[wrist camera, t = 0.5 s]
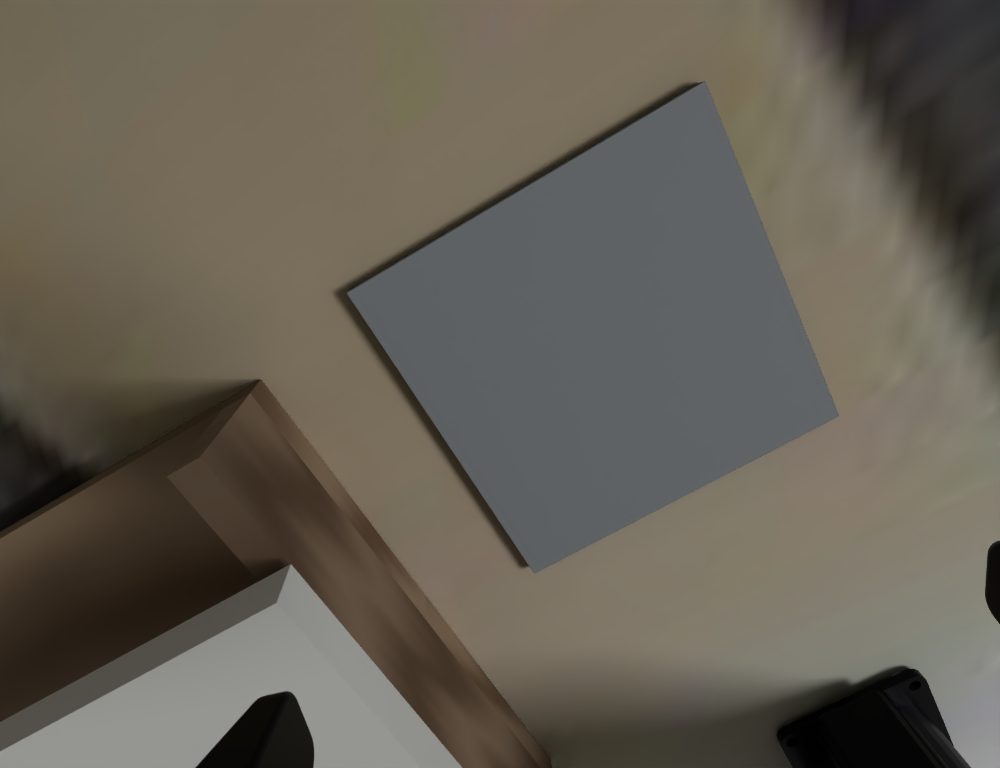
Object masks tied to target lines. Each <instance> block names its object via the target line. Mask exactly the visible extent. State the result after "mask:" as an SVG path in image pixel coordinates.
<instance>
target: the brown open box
mask: <svg viewBox="0 0 1000 768" xmlns="http://www.w3.org/2000/svg"><path fill="white" fill-rule="evenodd" d="M290 564H291V565H292V566H293V567H294V568H295V569H296V571H297V572H298V573H299V574H300V575H301V576H302V578H303V579H304V580H305V581H306V582H307V584H308V585H309V586H310V587H311V588H312V590H313V591H314V592H315V593H316V594H317V596H318V597H319V598H320V599H321V600H322V601H323V603H324V604H325V605H326V606H327V607H328V609H329V610H330V611H331V612H332V613H333V615H334V616H335V617H336V618H337V619H338V620H339V622H340V623H341V624H342V625H343V626H344V628H345V629H346V630H347V631H348V632H349V634H350V635H351V636H352V637H353V638H354V640H355V641H356V642H357V643H358V644H359V645H360V647H361V648H362V649H363V650H364V651H365V653H366V654H367V655H368V656H369V657H370V659H371V660H372V661H373V662H374V663H375V664H376V666H377V667H378V668H379V669H380V670H381V672H382V673H383V674H384V675H385V676H386V678H387V679H388V680H389V681H390V682H391V684H392V685H393V686H394V687H395V688H396V689H397V691H398V692H399V693H400V694H401V695H402V697H403V698H404V699H405V700H406V701H407V703H408V704H409V705H410V706H411V707H412V708H413V710H414V711H415V712H416V713H417V714H418V716H419V717H420V718H421V719H422V720H423V722H424V723H425V724H426V725H427V726H428V728H429V729H430V730H431V731H432V732H433V733H434V735H435V736H436V737H437V738H438V739H439V741H440V742H441V743H442V744H443V745H444V747H445V748H446V749H447V750H448V751H449V752H450V754H451V755H452V756H453V757H454V758H455V760H456V761H457V762H458V763H459V764H460V766H461V767H462V768H552V765H551V760H550V759H549V757H548V756H547V755H546V754H545V752H544V751H543V750H542V748H541V747H540V746H539V744H538V743H537V742H536V740H535V739H534V738H533V736H532V735H531V734H530V733H529V731H528V730H527V729H526V727H525V726H524V725H523V723H522V722H521V721H520V719H519V718H518V717H517V715H516V714H515V713H514V711H513V710H512V709H511V708H510V706H509V705H508V704H507V702H506V701H505V700H504V698H503V697H502V696H501V694H500V693H499V692H498V690H497V689H496V688H495V687H494V685H493V684H492V683H491V681H490V680H489V679H488V677H487V676H486V675H485V673H484V672H483V671H482V669H481V668H480V667H479V665H478V664H477V663H476V662H475V660H474V659H473V658H472V656H471V655H470V654H469V652H468V651H467V650H466V648H465V647H464V646H463V644H462V643H461V642H460V641H459V639H458V638H457V637H456V635H455V634H454V633H453V631H452V630H451V629H450V627H449V626H448V625H447V623H446V622H445V621H444V619H443V618H442V617H441V616H440V614H439V613H438V612H437V610H436V609H435V608H434V606H433V605H432V604H431V602H430V601H429V600H428V598H427V597H426V596H425V595H424V593H423V592H422V591H421V589H420V588H419V587H418V585H417V584H416V583H415V581H414V580H413V579H412V577H411V576H410V575H409V573H408V572H407V571H406V570H405V568H404V567H403V566H402V564H401V563H400V562H399V560H398V559H397V558H396V556H395V555H394V554H393V552H392V551H391V550H390V549H389V547H388V546H387V545H386V543H385V542H384V541H383V539H382V538H381V537H380V535H379V534H378V533H377V531H376V530H375V529H374V527H373V526H372V525H371V524H370V522H369V521H368V520H367V518H366V517H365V516H364V514H363V513H362V512H361V510H360V509H359V508H358V506H357V505H356V504H355V503H354V501H353V500H352V499H351V497H350V496H349V495H348V493H347V492H346V491H345V489H344V488H343V487H342V485H341V484H340V483H339V481H338V480H337V479H336V478H335V476H334V475H333V474H332V472H331V471H330V470H329V468H328V467H327V466H326V464H325V463H324V462H323V460H322V459H321V458H320V456H319V455H318V454H317V453H316V451H315V450H314V449H313V447H312V446H311V445H310V443H309V442H308V441H307V439H306V438H305V437H304V435H303V434H302V433H301V432H300V430H299V429H298V428H297V426H296V425H295V424H294V422H293V421H292V420H291V418H290V417H289V416H288V414H287V413H286V412H285V410H284V409H283V408H282V407H281V405H280V404H279V403H278V401H277V400H276V399H275V397H274V396H273V395H272V393H271V392H270V391H269V389H268V388H267V387H266V386H265V384H264V383H263V382H262V380H259V381H257V382H256V383H254V384H252V385H251V386H249V387H247V388H245V389H244V390H242V391H240V392H239V393H237V394H235V395H233V396H232V397H230V398H228V399H227V400H225V401H223V402H221V403H220V404H218V405H216V406H215V407H213V408H211V409H209V410H208V411H206V412H204V413H203V414H201V415H199V416H197V417H196V418H194V419H192V420H191V421H189V422H187V423H185V424H184V425H182V426H180V427H179V428H177V429H175V430H174V431H172V432H170V433H168V434H167V435H165V436H163V437H162V438H160V439H158V440H156V441H155V442H153V443H151V444H150V445H148V446H146V447H144V448H143V449H141V450H139V451H138V452H136V453H134V454H132V455H131V456H129V457H127V458H126V459H124V460H122V461H120V462H119V463H117V464H115V465H114V466H112V467H110V468H108V469H107V470H105V471H103V472H102V473H100V474H98V475H96V476H95V477H93V478H91V479H90V480H88V481H86V482H85V483H83V484H81V485H79V486H78V487H76V488H74V489H73V490H71V491H69V492H67V493H66V494H64V495H62V496H61V497H59V498H57V499H55V500H54V501H52V502H50V503H49V504H47V505H45V506H43V507H42V508H40V509H38V510H37V511H35V512H33V513H31V514H30V515H28V516H26V517H25V518H23V519H21V520H19V521H18V522H16V523H14V524H13V525H11V526H9V527H7V528H6V529H4V530H2V531H1V532H0V722H1V721H3V720H5V719H7V718H9V717H10V716H12V715H14V714H16V713H18V712H20V711H22V710H23V709H25V708H27V707H29V706H31V705H33V704H34V703H36V702H38V701H40V700H42V699H44V698H45V697H47V696H49V695H51V694H53V693H55V692H56V691H58V690H60V689H62V688H64V687H66V686H67V685H69V684H71V683H73V682H75V681H77V680H79V679H80V678H82V677H84V676H86V675H88V674H90V673H91V672H93V671H95V670H97V669H99V668H101V667H102V666H104V665H106V664H108V663H110V662H112V661H113V660H115V659H117V658H119V657H121V656H123V655H124V654H126V653H128V652H130V651H132V650H134V649H136V648H137V647H139V646H141V645H143V644H145V643H147V642H148V641H150V640H152V639H154V638H156V637H158V636H159V635H161V634H163V633H165V632H167V631H169V630H170V629H172V628H174V627H176V626H178V625H180V624H182V623H183V622H185V621H187V620H189V619H191V618H193V617H194V616H196V615H198V614H200V613H202V612H204V611H205V610H207V609H209V608H211V607H213V606H215V605H216V604H218V603H220V602H222V601H224V600H226V599H227V598H229V597H231V596H233V595H235V594H237V593H239V592H240V591H242V590H244V589H246V588H248V587H250V586H251V585H253V584H255V583H257V582H259V581H261V580H262V579H264V578H266V577H268V576H270V575H272V574H273V573H275V572H277V571H279V570H281V569H283V568H284V567H286V566H288V565H290Z"/></svg>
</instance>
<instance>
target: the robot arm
mask: <svg viewBox="0 0 1000 768" xmlns="http://www.w3.org/2000/svg"><path fill="white" fill-rule="evenodd" d="M985 597H986V602H987V605H988V607H989V609H990V611H991V613H992V614H993V616H994V617H995V619H996V620H997V621H998V622H999V624H1000V541H997V542H995V543H993V544H992V545H991V546H990V548H989V549H988V555H987V571H986V586H985ZM777 740H778V742H779V744H780V745H781V747H782V749H783V751H784V753H785V754H786V756H787V758H788V760H789V761H790V763H791V765H792V767H793V768H971V767H970V766H969V765H968V763H967V762H966V761H965V760H964V759H963V757H962V756H961V755H960V754H959V753H958V751H957V750H956V749H955V748H954V746H953V743H952V741H951V738H950V736H949V734H948V731H947V729H946V726H945V724H944V722H943V719H942V717H941V714H940V712H939V710H938V707H937V705H936V702H935V700H934V697H933V695H932V693H931V690H930V688H929V685H928V683H927V681H926V679H925V678H924V677H923V676H922V675H921V674H920V672H919V671H918V670H915V669H908V670H905V671H903V672H901V673H899V674H897V675H894V676H892V677H890V678H888V679H886V680H884V681H882V682H879V683H877V684H875V685H873V686H871V687H869V688H866V689H864V690H862V691H860V692H858V693H856V694H854V695H851V696H849V697H847V698H845V699H843V700H841V701H839V702H836V703H834V704H832V705H830V706H828V707H826V708H823V709H821V710H819V711H817V712H815V713H813V714H811V715H808V716H806V717H804V718H802V719H800V720H798V721H796V722H793V723H791V724H789V725H787V726H785V727H783V728H781V729H780V730H779V731H778V733H777ZM313 767H314V743H313V739H312V736H311V733H310V730H309V728H308V725H307V723H306V720H305V718H304V716H303V713H302V711H301V708H300V706H299V703H298V701H297V699H296V697H295V695H294V694H293V693H292V692H289V691H284V692H279V693H274V694H270V695H265V696H262V697H260V698H258V699H257V700H256V701H255V702H254V703H253V704H252V705H251V706H250V707H249V708H248V709H247V710H246V712H245V713H244V714H243V715H242V716H241V717H240V718H239V719H238V720H237V722H236V723H235V724H234V725H233V726H232V727H231V728H230V729H229V730H228V732H227V733H226V734H225V735H224V736H223V737H222V738H221V739H220V741H219V742H218V743H217V744H216V745H215V746H214V747H213V748H212V749H211V751H210V752H209V753H208V754H207V755H206V756H205V757H204V758H203V759H202V761H201V762H200V763H199V764H198V765H197V766H196V767H195V768H313Z"/></svg>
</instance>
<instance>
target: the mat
mask: <svg viewBox="0 0 1000 768" xmlns="http://www.w3.org/2000/svg"><path fill="white" fill-rule="evenodd" d="M347 294H348V296H349V297H350V299H351V300H352V302H353V303H354V305H355V306H356V308H357V309H358V311H359V312H360V314H361V315H362V317H363V318H364V320H365V321H366V323H367V324H368V326H369V327H370V329H371V330H372V332H373V333H374V335H375V336H376V338H377V339H378V341H379V342H380V344H381V345H382V347H383V348H384V350H385V351H386V353H387V354H388V356H389V357H390V359H391V360H392V362H393V363H394V365H395V366H396V368H397V369H398V371H399V372H400V374H401V375H402V377H403V378H404V380H405V381H406V383H407V384H408V386H409V387H410V389H411V390H412V392H413V393H414V395H415V396H416V398H417V399H418V401H419V402H420V403H421V405H422V406H423V408H424V409H425V411H426V412H427V414H428V415H429V417H430V418H431V420H432V421H433V423H434V424H435V426H436V427H437V429H438V430H439V432H440V433H441V435H442V436H443V438H444V439H445V441H446V442H447V444H448V445H449V447H450V448H451V450H452V451H453V453H454V454H455V456H456V457H457V459H458V460H459V462H460V463H461V465H462V466H463V468H464V469H465V471H466V472H467V474H468V475H469V477H470V478H471V480H472V481H473V483H474V484H475V486H476V487H477V489H478V490H479V492H480V493H481V495H482V496H483V498H484V499H485V501H486V502H487V504H488V505H489V507H490V508H491V510H492V511H493V513H494V514H495V516H496V517H497V519H498V520H499V522H500V523H501V525H502V526H503V528H504V529H505V531H506V532H507V534H508V535H509V537H510V538H511V540H512V541H513V543H514V544H515V546H516V547H517V549H518V550H519V552H520V553H521V554H522V556H523V557H524V559H525V560H526V562H527V563H528V565H529V566H530V568H531V569H532V571H533V572H534V573H536V572H538V571H540V570H542V569H544V568H546V567H548V566H550V565H552V564H554V563H556V562H557V561H559V560H561V559H563V558H565V557H567V556H569V555H571V554H573V553H575V552H577V551H579V550H581V549H583V548H585V547H586V546H588V545H590V544H592V543H594V542H596V541H598V540H600V539H602V538H604V537H606V536H608V535H610V534H612V533H614V532H616V531H617V530H619V529H621V528H623V527H625V526H627V525H629V524H631V523H633V522H635V521H637V520H639V519H641V518H643V517H645V516H646V515H648V514H650V513H652V512H654V511H656V510H658V509H660V508H662V507H664V506H666V505H668V504H670V503H672V502H674V501H676V500H677V499H679V498H681V497H683V496H685V495H687V494H689V493H691V492H693V491H695V490H697V489H699V488H701V487H703V486H705V485H706V484H708V483H710V482H712V481H714V480H716V479H718V478H720V477H722V476H724V475H726V474H728V473H730V472H732V471H734V470H736V469H737V468H739V467H741V466H743V465H745V464H747V463H749V462H751V461H753V460H755V459H757V458H759V457H761V456H763V455H765V454H766V453H768V452H770V451H772V450H774V449H776V448H778V447H780V446H782V445H784V444H786V443H788V442H790V441H792V440H794V439H796V438H797V437H799V436H801V435H803V434H805V433H807V432H809V431H811V430H813V429H815V428H817V427H819V426H821V425H823V424H825V423H826V422H828V421H830V420H832V419H834V418H836V417H838V416H839V414H838V412H837V409H836V407H835V404H834V402H833V399H832V397H831V394H830V392H829V389H828V387H827V384H826V382H825V379H824V377H823V374H822V372H821V369H820V367H819V364H818V362H817V359H816V357H815V354H814V352H813V349H812V347H811V344H810V342H809V339H808V337H807V334H806V332H805V329H804V327H803V324H802V322H801V319H800V317H799V314H798V312H797V309H796V307H795V304H794V302H793V299H792V297H791V294H790V292H789V289H788V287H787V284H786V282H785V279H784V277H783V274H782V272H781V269H780V267H779V264H778V262H777V259H776V257H775V254H774V252H773V249H772V247H771V244H770V242H769V239H768V237H767V234H766V232H765V229H764V227H763V224H762V222H761V219H760V217H759V214H758V212H757V209H756V207H755V204H754V202H753V199H752V197H751V194H750V192H749V189H748V187H747V184H746V182H745V179H744V177H743V174H742V172H741V169H740V167H739V164H738V162H737V159H736V157H735V154H734V152H733V149H732V147H731V144H730V142H729V139H728V137H727V134H726V132H725V129H724V127H723V124H722V122H721V119H720V117H719V114H718V112H717V109H716V107H715V104H714V102H713V99H712V97H711V94H710V92H709V89H708V87H707V84H706V82H705V81H704V82H700V83H698V84H696V85H695V86H693V87H691V88H690V89H688V90H686V91H685V92H683V93H681V94H680V95H678V96H676V97H674V98H673V99H671V100H669V101H668V102H666V103H664V104H663V105H661V106H659V107H658V108H656V109H654V110H653V111H651V112H649V113H647V114H646V115H644V116H642V117H641V118H639V119H637V120H636V121H634V122H632V123H631V124H629V125H627V126H625V127H624V128H622V129H620V130H619V131H617V132H615V133H614V134H612V135H610V136H609V137H607V138H605V139H604V140H602V141H600V142H598V143H597V144H595V145H593V146H592V147H590V148H588V149H587V150H585V151H583V152H582V153H580V154H578V155H576V156H575V157H573V158H571V159H570V160H568V161H566V162H565V163H563V164H561V165H560V166H558V167H556V168H555V169H553V170H551V171H549V172H548V173H546V174H544V175H543V176H541V177H539V178H538V179H536V180H534V181H533V182H531V183H529V184H527V185H526V186H524V187H522V188H521V189H519V190H517V191H516V192H514V193H512V194H511V195H509V196H507V197H506V198H504V199H502V200H500V201H499V202H497V203H495V204H494V205H492V206H490V207H489V208H487V209H485V210H484V211H482V212H480V213H478V214H477V215H475V216H473V217H472V218H470V219H468V220H467V221H465V222H463V223H462V224H460V225H458V226H457V227H455V228H453V229H451V230H450V231H448V232H446V233H445V234H443V235H441V236H440V237H438V238H436V239H435V240H433V241H431V242H429V243H428V244H426V245H424V246H423V247H421V248H419V249H418V250H416V251H414V252H413V253H411V254H409V255H408V256H406V257H404V258H402V259H401V260H399V261H397V262H396V263H394V264H392V265H391V266H389V267H387V268H386V269H384V270H382V271H380V272H379V273H377V274H375V275H374V276H372V277H370V278H369V279H367V280H365V281H364V282H362V283H360V284H359V285H357V286H355V287H353V288H352V289H350V290H349V291H348V292H347Z"/></svg>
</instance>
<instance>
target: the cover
mask: <svg viewBox="0 0 1000 768" xmlns="http://www.w3.org/2000/svg"><path fill="white" fill-rule="evenodd" d="M284 691H289V692H292V693H293V694H294V695H295V697H296V699H297V701H298V703H299V706H300V708H301V711H302V713H303V716H304V718H305V720H306V723H307V725H308V728H309V730H310V733H311V736H312V739H313V743H314V767H313V768H462V767H461V766H460V764H459V763H458V762H457V761H456V760H455V758H454V757H453V756H452V755H451V754H450V752H449V751H448V750H447V749H446V748H445V747H444V745H443V744H442V743H441V742H440V741H439V739H438V738H437V737H436V736H435V735H434V733H433V732H432V731H431V730H430V729H429V728H428V726H427V725H426V724H425V723H424V722H423V720H422V719H421V718H420V717H419V716H418V714H417V713H416V712H415V711H414V710H413V708H412V707H411V706H410V705H409V704H408V703H407V701H406V700H405V699H404V698H403V697H402V695H401V694H400V693H399V692H398V691H397V689H396V688H395V687H394V686H393V685H392V684H391V682H390V681H389V680H388V679H387V678H386V676H385V675H384V674H383V673H382V672H381V670H380V669H379V668H378V667H377V666H376V664H375V663H374V662H373V661H372V660H371V659H370V657H369V656H368V655H367V654H366V653H365V651H364V650H363V649H362V648H361V647H360V645H359V644H358V643H357V642H356V641H355V640H354V638H353V637H352V636H351V635H350V634H349V632H348V631H347V630H346V629H345V628H344V626H343V625H342V624H341V623H340V622H339V620H338V619H337V618H336V617H335V616H334V615H333V613H332V612H331V611H330V610H329V609H328V607H327V606H326V605H325V604H324V603H323V601H322V600H321V599H320V598H319V597H318V596H317V594H316V593H315V592H314V591H313V590H312V588H311V587H310V586H309V585H308V584H307V582H306V581H305V580H304V579H303V578H302V576H301V575H300V574H299V573H298V572H297V571H296V569H295V568H294V567H293V566H292V565H291V564H290V565H288V566H286V567H284V568H283V569H281V570H279V571H277V572H275V573H273V574H272V575H270V576H268V577H266V578H264V579H262V580H261V581H259V582H257V583H255V584H253V585H251V586H250V587H248V588H246V589H244V590H242V591H240V592H239V593H237V594H235V595H233V596H231V597H229V598H227V599H226V600H224V601H222V602H220V603H218V604H216V605H215V606H213V607H211V608H209V609H207V610H205V611H204V612H202V613H200V614H198V615H196V616H194V617H193V618H191V619H189V620H187V621H185V622H183V623H182V624H180V625H178V626H176V627H174V628H172V629H170V630H169V631H167V632H165V633H163V634H161V635H159V636H158V637H156V638H154V639H152V640H150V641H148V642H147V643H145V644H143V645H141V646H139V647H137V648H136V649H134V650H132V651H130V652H128V653H126V654H124V655H123V656H121V657H119V658H117V659H115V660H113V661H112V662H110V663H108V664H106V665H104V666H102V667H101V668H99V669H97V670H95V671H93V672H91V673H90V674H88V675H86V676H84V677H82V678H80V679H79V680H77V681H75V682H73V683H71V684H69V685H67V686H66V687H64V688H62V689H60V690H58V691H56V692H55V693H53V694H51V695H49V696H47V697H45V698H44V699H42V700H40V701H38V702H36V703H34V704H33V705H31V706H29V707H27V708H25V709H23V710H22V711H20V712H18V713H16V714H14V715H12V716H10V717H9V718H7V719H5V720H3V721H1V722H0V768H195V767H196V766H197V765H198V764H199V763H200V762H201V761H202V759H203V758H204V757H205V756H206V755H207V754H208V753H209V752H210V751H211V749H212V748H213V747H214V746H215V745H216V744H217V743H218V742H219V741H220V739H221V738H222V737H223V736H224V735H225V734H226V733H227V732H228V730H229V729H230V728H231V727H232V726H233V725H234V724H235V723H236V722H237V720H238V719H239V718H240V717H241V716H242V715H243V714H244V713H245V712H246V710H247V709H248V708H249V707H250V706H251V705H252V704H253V703H254V702H255V701H256V700H257V699H258V698H260V697H262V696H265V695H270V694H274V693H279V692H284Z"/></svg>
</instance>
